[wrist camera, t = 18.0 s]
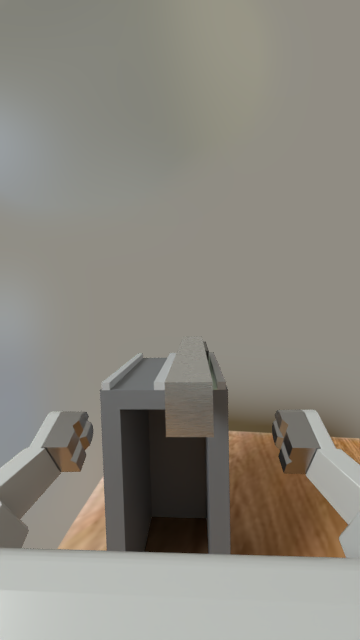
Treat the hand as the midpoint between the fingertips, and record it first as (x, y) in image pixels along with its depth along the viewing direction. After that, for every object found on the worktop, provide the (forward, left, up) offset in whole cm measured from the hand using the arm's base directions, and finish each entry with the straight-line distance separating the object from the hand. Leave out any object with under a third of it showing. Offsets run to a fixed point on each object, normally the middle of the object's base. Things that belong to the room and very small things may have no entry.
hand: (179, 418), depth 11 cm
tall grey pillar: (-7, -21, -29) cm, 37 cm away
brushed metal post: (-7, -15, -3) cm, 17 cm away
